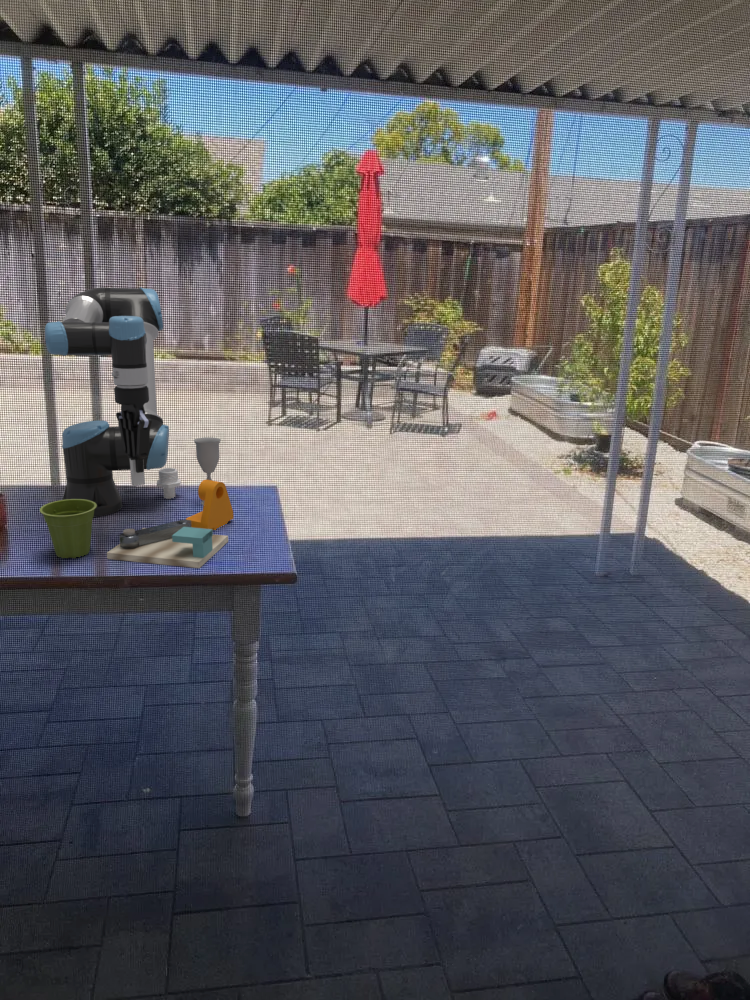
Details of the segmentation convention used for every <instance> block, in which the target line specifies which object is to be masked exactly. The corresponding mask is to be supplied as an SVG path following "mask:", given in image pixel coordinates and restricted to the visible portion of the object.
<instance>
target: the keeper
mask: <svg viewBox="0 0 750 1000" xmlns="http://www.w3.org/2000/svg"><path fill="white" fill-rule="evenodd" d="M213 534H214V532H213V529H203V528H193V527H183V528H181V529H180V530H179V531H177V532H176V533H175V534H173V535H172V542H179V543H190V544H193V557H201V558H204V557H205V556H206V555H207V554H209V553H210V552H211V551H212V550H213V548H212V536H213Z"/></svg>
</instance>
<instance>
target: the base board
mask: <svg viewBox="0 0 750 1000" xmlns="http://www.w3.org/2000/svg"><path fill="white" fill-rule="evenodd" d="M145 528H146V527H142V528H141V529H145ZM135 531H136V529H135V528H126V529H123V530H122V533H123V535H125V536H131V535H134V534H135ZM227 543H229V535H224V534H223V535H222V534H214V533H213V536H212V548H213V550H212V551H211V552H210V553H209V554H207V555H206V556H205V557H204V558H201V557H193V544H190V543H179V542H172V538H169V539H165V540H161V541H157V542H153V543H149V544H145V545H141V546H138V547H136V548H132V549H124V548H121V547H120V543H119V544H117V545H116V546H114V547H113V548H112V549H110V550H109V551H107V552H106V557H107V560H115V561H122V562H123V561H126V562H135V563H144V564H154V565H164V566H172V567H173V566H174V567H183V568H192V569H200V568H202V566H204V565H205V564H206V563H207V562H208V561H209V560H210V559H211V558H213V556H214V555H216V553H218V552H219V551H220V550H221V549H222V548H223V547H225V545H226V544H227Z"/></svg>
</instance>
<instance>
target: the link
mask: <svg viewBox="0 0 750 1000" xmlns="http://www.w3.org/2000/svg"><path fill="white" fill-rule="evenodd" d="M183 527H192V526H191V521H190V520H186V519H180V520H175V521H171V522H167V523H164V524H163V523H161V524H157V525H153V526H151V527H150V526H149V527H144V528H145V529H142V528H141V529H137V530H136V529H135V534H134V535H131V536H125V535H123V532H122V533H120V534H119V535H118V536H119V544H120V547H121V548H124V549H132V548H136V547H138V546H141V545H145V544H149V543H153V542H157V541H161V540H165V539H169V538H172V535H173V534H175V533H176V532H177V531H179V530H180V529H181V528H183Z"/></svg>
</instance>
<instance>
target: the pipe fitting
mask: <svg viewBox="0 0 750 1000" xmlns="http://www.w3.org/2000/svg"><path fill="white" fill-rule="evenodd" d="M181 483H182V480H181V478H179V470H178V469H177V468H175V467H174V468H173V467H163V468H159V470H158V479H156V487H158V488H162V489H163V499H165V498H166V500H172V499H171V498H173V499H175V498H176V487H180V486H181V485H182V484H181ZM174 497H175V498H174Z"/></svg>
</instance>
